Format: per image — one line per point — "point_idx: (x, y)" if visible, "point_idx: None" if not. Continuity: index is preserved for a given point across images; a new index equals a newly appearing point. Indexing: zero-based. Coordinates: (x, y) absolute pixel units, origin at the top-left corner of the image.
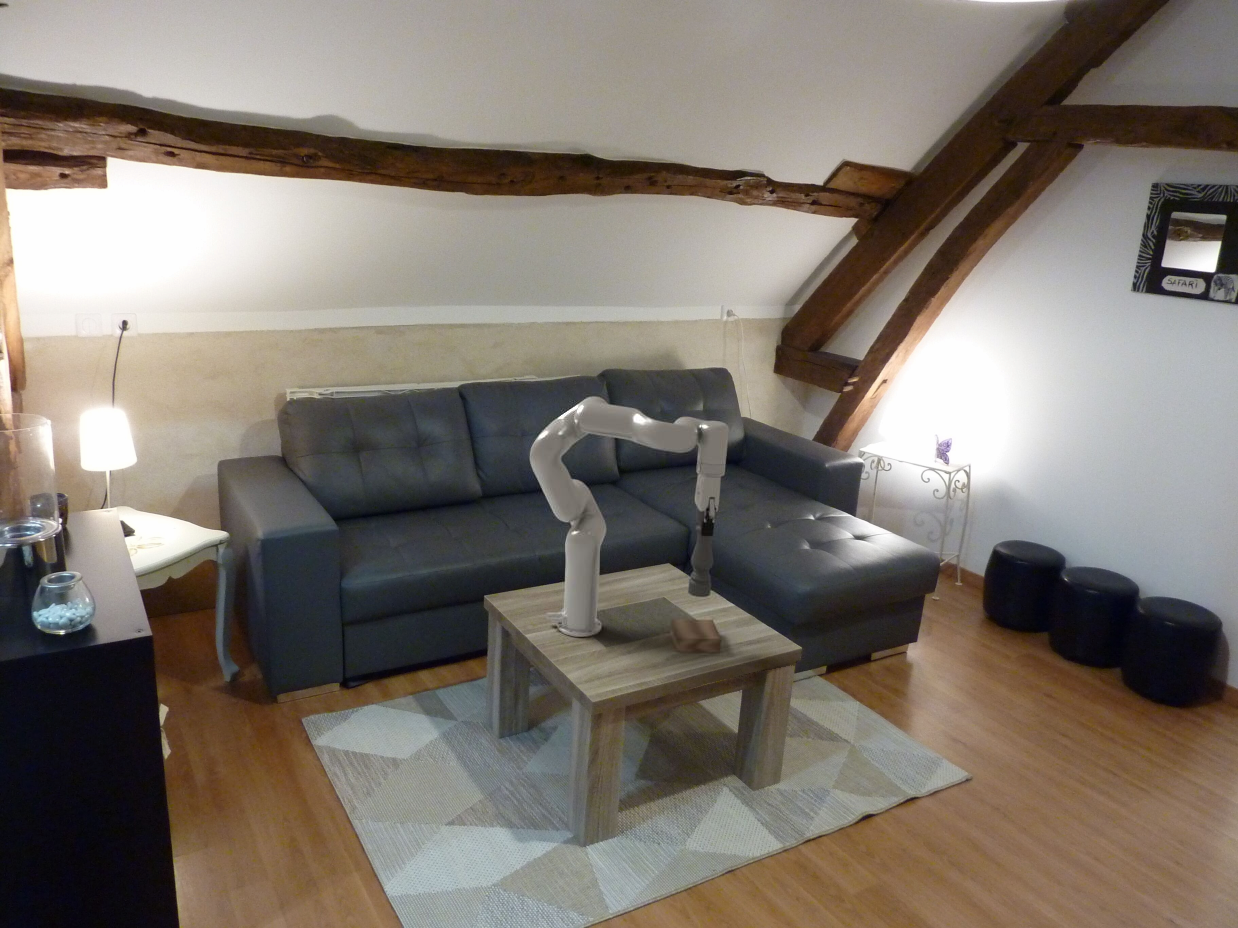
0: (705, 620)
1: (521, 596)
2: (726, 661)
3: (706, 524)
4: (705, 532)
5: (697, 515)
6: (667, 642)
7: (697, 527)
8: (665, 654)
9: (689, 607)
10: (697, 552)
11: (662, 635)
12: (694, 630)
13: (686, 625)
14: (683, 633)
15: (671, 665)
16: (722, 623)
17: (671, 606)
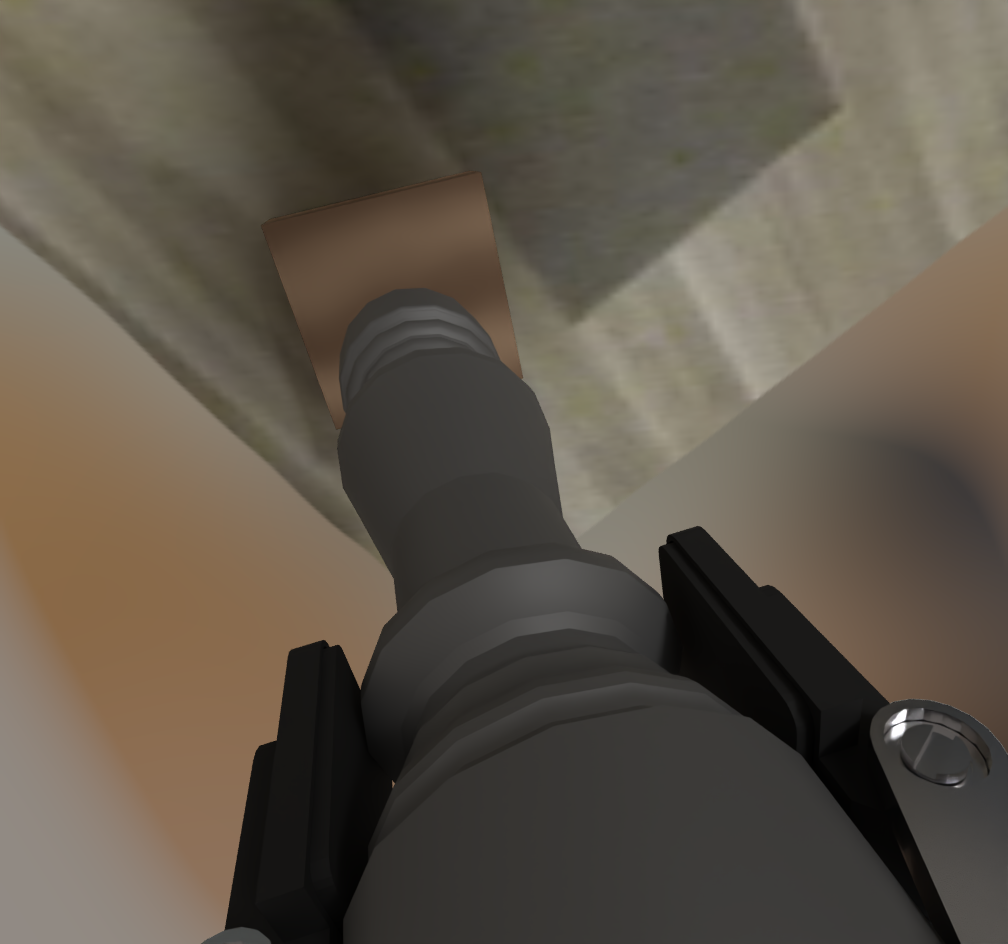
0: (509, 345)
1: None
2: (263, 438)
3: (232, 928)
4: (256, 759)
5: (468, 859)
6: (352, 163)
7: (461, 612)
8: (216, 162)
9: (736, 245)
10: (378, 455)
11: (421, 130)
12: None
13: (429, 258)
14: (330, 250)
15: (108, 202)
16: (603, 395)
17: (741, 156)
